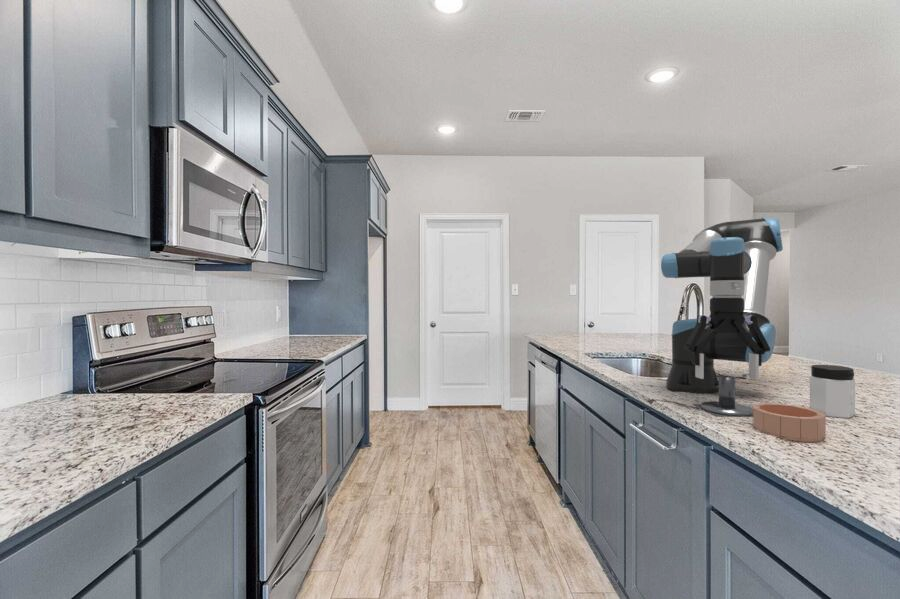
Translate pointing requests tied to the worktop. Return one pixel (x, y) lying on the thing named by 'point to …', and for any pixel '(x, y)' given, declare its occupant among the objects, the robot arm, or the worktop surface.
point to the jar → (832, 390)
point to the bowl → (790, 422)
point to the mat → (718, 414)
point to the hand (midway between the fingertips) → (726, 378)
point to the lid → (727, 400)
